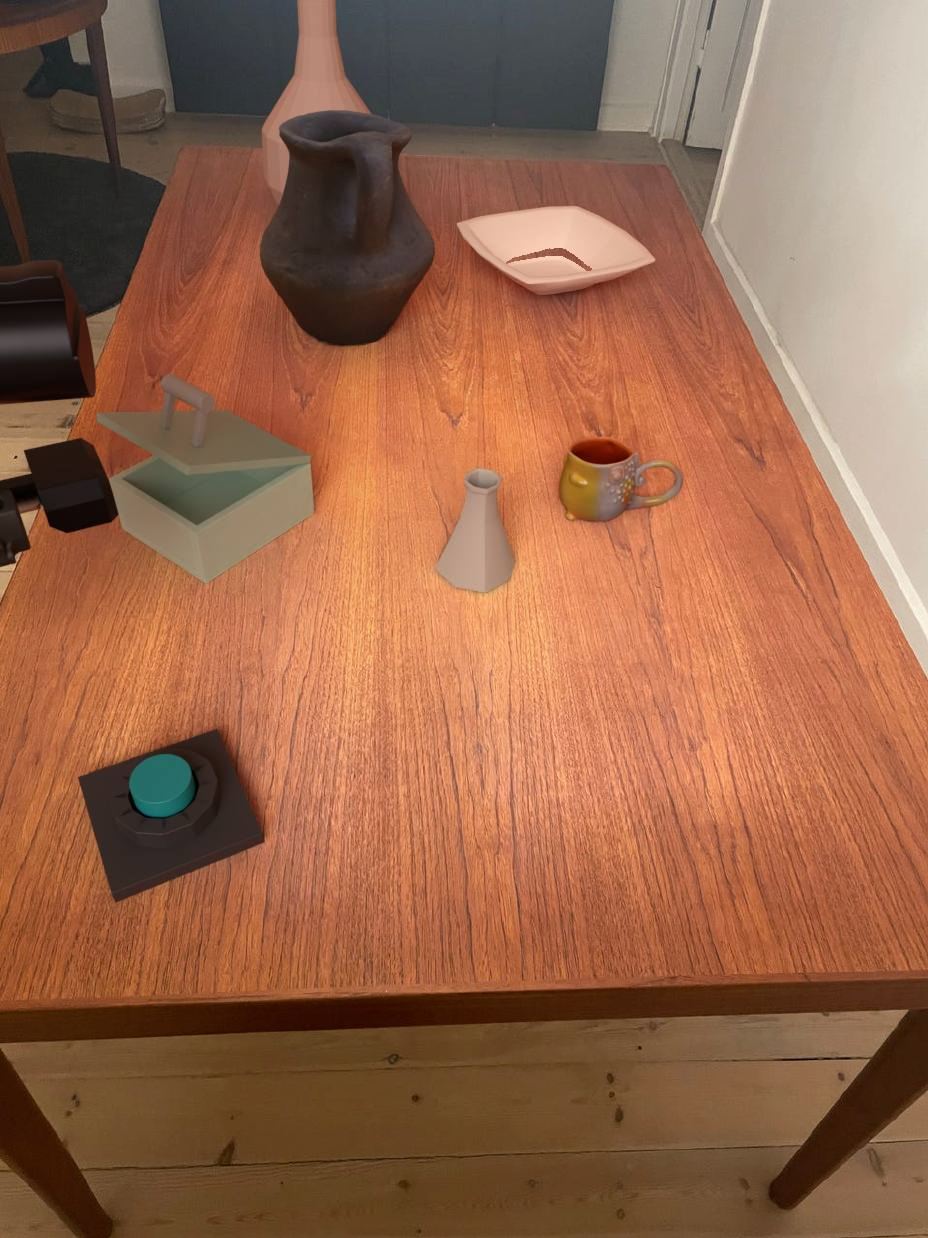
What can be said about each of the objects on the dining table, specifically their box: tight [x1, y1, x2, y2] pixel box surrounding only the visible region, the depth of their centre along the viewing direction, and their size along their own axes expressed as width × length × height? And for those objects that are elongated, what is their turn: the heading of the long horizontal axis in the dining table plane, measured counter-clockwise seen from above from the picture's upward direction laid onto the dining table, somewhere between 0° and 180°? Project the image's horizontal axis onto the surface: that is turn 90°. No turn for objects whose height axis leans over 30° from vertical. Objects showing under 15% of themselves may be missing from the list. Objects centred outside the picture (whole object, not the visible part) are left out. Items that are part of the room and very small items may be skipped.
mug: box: [558, 436, 684, 523], centre depth 89 cm, size 12×7×7 cm, turn 84°
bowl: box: [456, 205, 656, 296], centre depth 126 cm, size 22×23×6 cm
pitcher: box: [259, 110, 436, 346], centre depth 106 cm, size 21×22×25 cm
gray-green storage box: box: [108, 455, 315, 585], centre depth 84 cm, size 14×12×6 cm
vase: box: [261, 0, 372, 207], centre depth 128 cm, size 18×18×30 cm
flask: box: [434, 467, 516, 594], centre depth 80 cm, size 7×7×10 cm
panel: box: [77, 728, 265, 903], centre depth 62 cm, size 10×10×3 cm
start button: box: [129, 754, 195, 818], centre depth 61 cm, size 4×4×2 cm
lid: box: [95, 373, 312, 475], centre depth 79 cm, size 14×12×5 cm
